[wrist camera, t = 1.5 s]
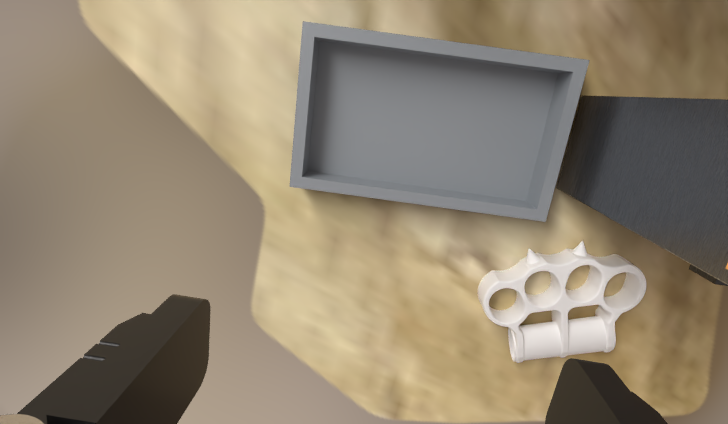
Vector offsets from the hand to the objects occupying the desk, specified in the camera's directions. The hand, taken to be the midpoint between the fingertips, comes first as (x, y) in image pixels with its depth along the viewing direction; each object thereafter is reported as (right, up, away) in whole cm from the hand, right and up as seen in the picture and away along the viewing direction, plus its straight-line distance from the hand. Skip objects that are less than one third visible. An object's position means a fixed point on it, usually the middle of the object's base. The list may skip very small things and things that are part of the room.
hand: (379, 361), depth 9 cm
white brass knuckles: (+23, -7, +41) cm, 47 cm away
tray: (+6, +13, +35) cm, 38 cm away
